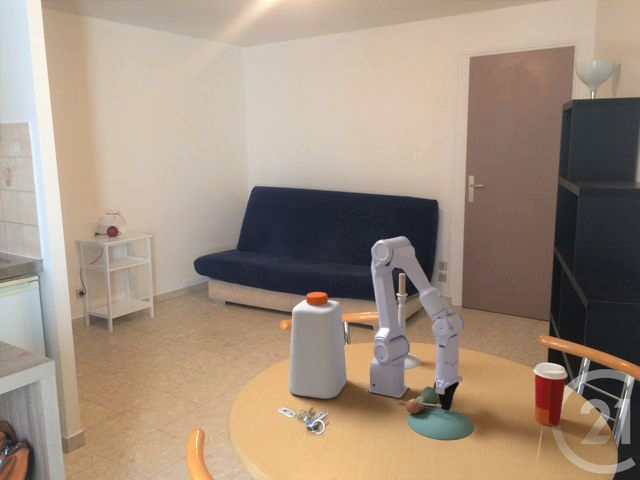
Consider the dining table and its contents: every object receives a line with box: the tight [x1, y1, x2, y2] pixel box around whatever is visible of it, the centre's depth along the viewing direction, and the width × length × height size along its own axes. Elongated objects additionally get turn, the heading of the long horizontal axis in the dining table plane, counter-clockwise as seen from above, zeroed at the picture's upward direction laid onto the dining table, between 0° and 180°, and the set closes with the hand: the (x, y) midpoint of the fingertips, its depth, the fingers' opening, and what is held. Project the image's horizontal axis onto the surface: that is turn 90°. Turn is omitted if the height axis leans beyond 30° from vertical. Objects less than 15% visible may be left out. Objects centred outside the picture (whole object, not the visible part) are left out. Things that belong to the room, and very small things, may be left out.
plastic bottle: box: [288, 291, 348, 400], centre depth 151 cm, size 15×15×28 cm
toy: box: [397, 385, 442, 414], centre depth 140 cm, size 13×4×15 cm
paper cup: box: [532, 362, 568, 427], centre depth 132 cm, size 8×8×14 cm
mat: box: [407, 406, 474, 441], centre depth 132 cm, size 16×16×1 cm
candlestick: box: [395, 272, 422, 370], centre depth 168 cm, size 13×13×30 cm
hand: (445, 408), depth 137 cm, fingers closed
